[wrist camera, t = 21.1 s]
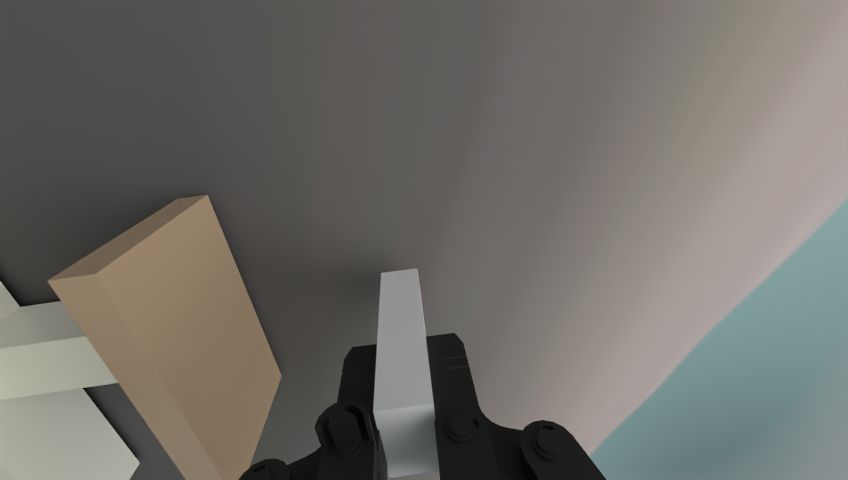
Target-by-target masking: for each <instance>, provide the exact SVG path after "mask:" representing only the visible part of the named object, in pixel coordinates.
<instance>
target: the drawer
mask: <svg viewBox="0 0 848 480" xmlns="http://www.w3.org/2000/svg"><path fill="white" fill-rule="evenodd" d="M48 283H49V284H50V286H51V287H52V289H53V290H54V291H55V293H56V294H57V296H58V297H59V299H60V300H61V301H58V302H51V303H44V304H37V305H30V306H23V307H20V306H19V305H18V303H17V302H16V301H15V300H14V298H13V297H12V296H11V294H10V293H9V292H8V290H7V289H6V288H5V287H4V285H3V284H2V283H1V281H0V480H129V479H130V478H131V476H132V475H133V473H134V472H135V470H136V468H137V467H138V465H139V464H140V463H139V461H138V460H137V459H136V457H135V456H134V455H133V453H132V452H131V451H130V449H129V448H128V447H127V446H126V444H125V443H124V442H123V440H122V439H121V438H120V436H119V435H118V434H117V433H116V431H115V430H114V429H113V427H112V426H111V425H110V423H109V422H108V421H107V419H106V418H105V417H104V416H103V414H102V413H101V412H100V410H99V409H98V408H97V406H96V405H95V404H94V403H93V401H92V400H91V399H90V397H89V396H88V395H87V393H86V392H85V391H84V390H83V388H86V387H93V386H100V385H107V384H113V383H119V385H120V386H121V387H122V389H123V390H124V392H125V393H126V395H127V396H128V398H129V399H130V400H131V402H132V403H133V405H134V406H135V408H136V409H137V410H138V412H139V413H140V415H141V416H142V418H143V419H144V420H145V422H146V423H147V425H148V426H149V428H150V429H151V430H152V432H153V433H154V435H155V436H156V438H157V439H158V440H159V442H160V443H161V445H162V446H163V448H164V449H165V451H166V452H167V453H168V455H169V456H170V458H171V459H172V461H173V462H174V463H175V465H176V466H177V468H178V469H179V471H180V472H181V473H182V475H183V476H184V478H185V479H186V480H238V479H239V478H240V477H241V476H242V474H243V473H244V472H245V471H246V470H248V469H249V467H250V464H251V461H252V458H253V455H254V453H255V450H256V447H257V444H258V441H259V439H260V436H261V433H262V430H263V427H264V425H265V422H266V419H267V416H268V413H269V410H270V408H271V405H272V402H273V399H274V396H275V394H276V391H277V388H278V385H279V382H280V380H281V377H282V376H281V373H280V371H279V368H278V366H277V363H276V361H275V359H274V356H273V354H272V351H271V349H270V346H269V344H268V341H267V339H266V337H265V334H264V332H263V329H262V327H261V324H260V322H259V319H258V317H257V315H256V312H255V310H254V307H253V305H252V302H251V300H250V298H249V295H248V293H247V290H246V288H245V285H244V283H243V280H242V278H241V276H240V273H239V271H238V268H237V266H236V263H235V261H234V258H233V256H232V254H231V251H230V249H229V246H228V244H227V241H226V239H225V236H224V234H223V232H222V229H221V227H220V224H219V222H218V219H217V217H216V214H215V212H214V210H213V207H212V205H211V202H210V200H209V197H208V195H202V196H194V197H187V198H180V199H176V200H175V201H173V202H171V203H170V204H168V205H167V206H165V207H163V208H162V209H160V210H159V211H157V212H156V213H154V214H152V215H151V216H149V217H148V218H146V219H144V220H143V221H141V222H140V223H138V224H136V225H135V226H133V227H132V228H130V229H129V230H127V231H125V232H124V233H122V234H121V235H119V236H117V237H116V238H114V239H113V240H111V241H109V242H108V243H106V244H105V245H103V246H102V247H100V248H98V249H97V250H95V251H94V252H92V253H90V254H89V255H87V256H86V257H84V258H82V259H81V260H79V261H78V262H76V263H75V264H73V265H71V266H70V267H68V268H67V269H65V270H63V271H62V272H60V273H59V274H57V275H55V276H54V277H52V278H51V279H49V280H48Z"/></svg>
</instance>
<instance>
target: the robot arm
mask: <svg viewBox="0 0 848 480" xmlns="http://www.w3.org/2000/svg"><path fill="white" fill-rule="evenodd" d="M340 383H341V385H340V388H339V394H338V400H337V403H335V404H333V405H332V406H330V407H329V408H327V409H326V410H325V411H324V412H323V413H322V414H321V415H320V416H319V418H318V420H317V422H316V425H315V430H316V433H317V436H318V438H319V441H320V444H321V447H320V448H319V449H317V450H316V451H315V452H313V453H312V454H310V455H308V456H306V457H304V458H302V459H300V460H298V461H295V462H293V463H291V464H289V465H286V464H285V463H284V461H281V460H278V459H265V460H263V461H261V462H258V463H256V464H254V465H253V466H252V467H250V468H249V469H248V470H246V471H245V472H244V473H243V474H242V476H241V477H240V478H239V479H238V480H387V472H388V476H389V478H393V477H400V476H407V475H415V474H422V473H429V472H436V471H439V472H440V480H606V479H605V477H604V476H603V475H602V473H601V472H600V471H599V469H598V468H597V467H596V466H595V464H594V463H593V462H592V460H591V459H590V458H589V456H588V455H587V454H586V452H585V451H584V450H583V449H582V447H581V446H580V445H579V443H578V442H577V441H576V439H575V438H574V437H573V436H572V435H571V434H570V433H569V432H568V431H567V430H566V429H565V428H564V427H562V426H560V425H558V424H556V423H554V422H551V421H545V420H541V421H535V422H532V423H530V424H529V425H527V426H526V427H525V428H524V430H523V431H522V430H517V429H511V428H506V427H502V426H499V425H497V424H495V423H493V422H491V421H490V420H489V419H488V418H487V417H485V415H484V414H483V413H482V411H481V409H480V407H479V404H478V400H477V396H476V392H475V388H474V384H473V380H472V376H471V372H470V368H469V364H468V360H467V357H466V352H465V348H464V344H463V342H462V341H461V340H460V339H459V337H458V336H457V335H456V334H455V333H451V334H443V335H435V336H428V337H426V332H425V324H424V316H423V308H422V300H421V292H420V284H419V276H418V268H417V269H409V270H401V271H393V272H385V273H381V285H380V302H379V319H378V337H377V344H374V345H366V346H359V347H352V348H351V350H350V351H349V353H348V354H347V356H346V357H345V359H344V364H343V370H342V376H341V382H340Z"/></svg>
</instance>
